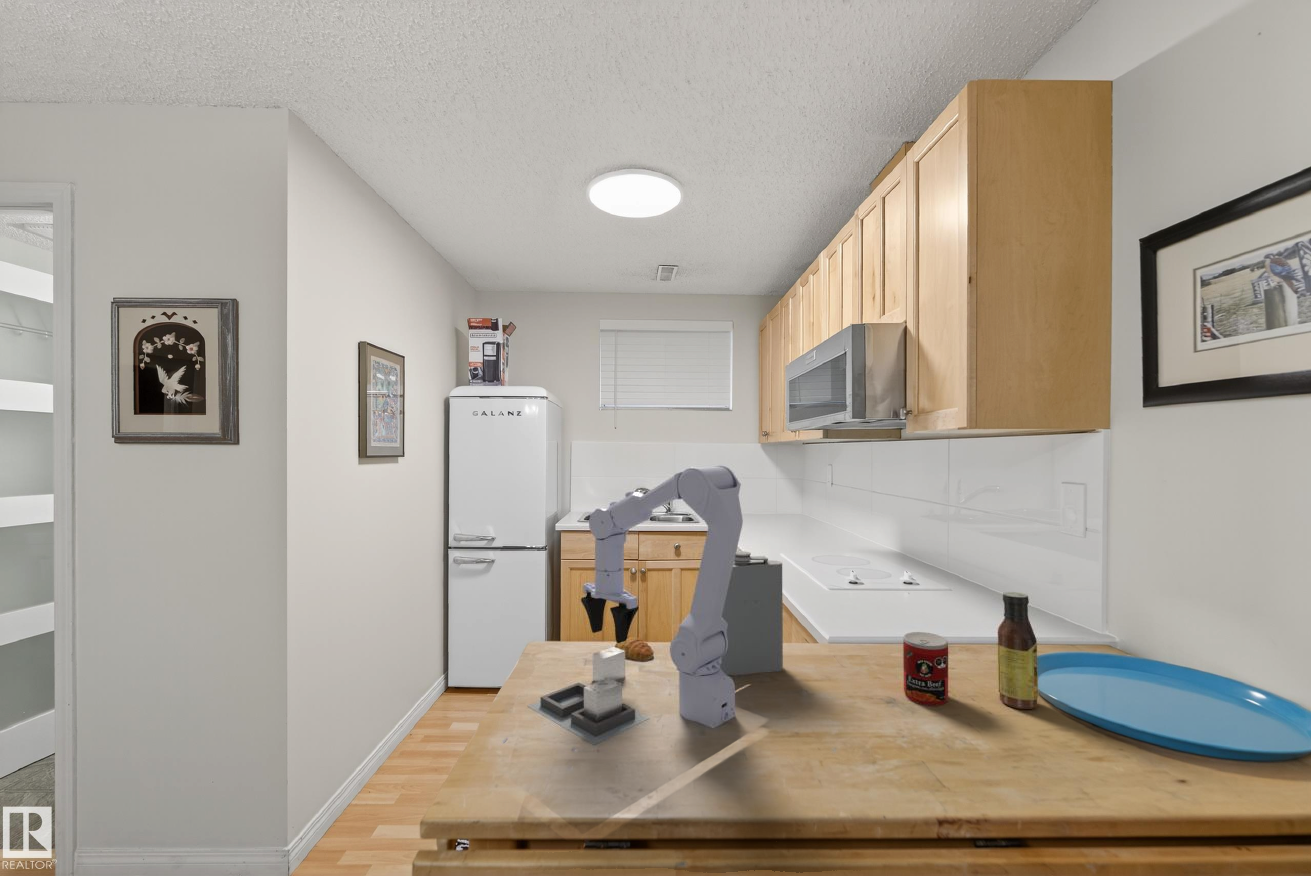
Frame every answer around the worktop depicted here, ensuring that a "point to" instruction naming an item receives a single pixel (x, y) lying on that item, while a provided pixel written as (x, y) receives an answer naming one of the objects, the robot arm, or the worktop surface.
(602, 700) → the block
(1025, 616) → the sauce bottle
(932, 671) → the canned food
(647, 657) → the pastry
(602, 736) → the pallet
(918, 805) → the worktop surface
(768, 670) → the flask
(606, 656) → the metal billet
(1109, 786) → the worktop surface
